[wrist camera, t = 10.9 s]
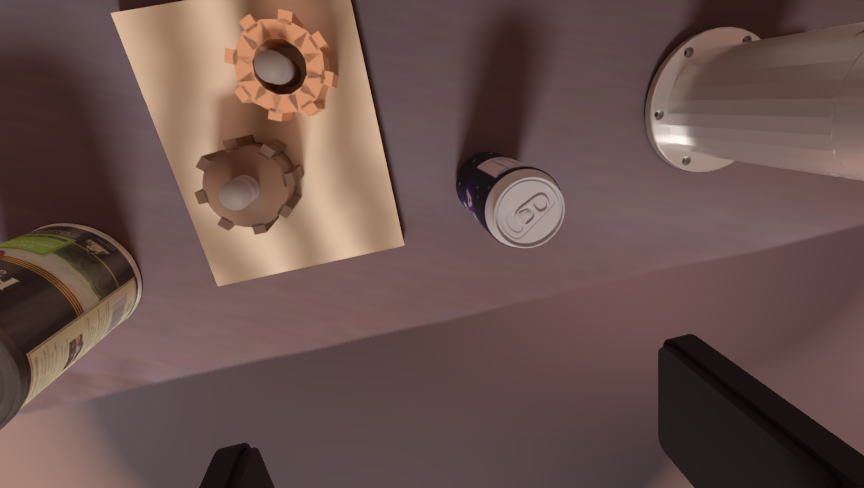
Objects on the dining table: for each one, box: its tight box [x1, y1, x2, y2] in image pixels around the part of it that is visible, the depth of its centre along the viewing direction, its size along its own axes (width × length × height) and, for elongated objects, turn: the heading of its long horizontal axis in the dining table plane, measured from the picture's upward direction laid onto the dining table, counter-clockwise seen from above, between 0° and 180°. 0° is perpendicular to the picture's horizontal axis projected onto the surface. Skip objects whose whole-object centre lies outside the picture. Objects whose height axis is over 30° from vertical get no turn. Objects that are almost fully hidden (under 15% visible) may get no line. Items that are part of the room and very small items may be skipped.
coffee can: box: [0, 223, 142, 429], centre depth 30 cm, size 10×10×14 cm
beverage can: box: [456, 152, 565, 248], centre depth 33 cm, size 6×6×12 cm
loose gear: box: [224, 9, 338, 122], centre depth 31 cm, size 7×7×4 cm
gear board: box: [111, 0, 404, 286], centre depth 32 cm, size 17×22×8 cm
